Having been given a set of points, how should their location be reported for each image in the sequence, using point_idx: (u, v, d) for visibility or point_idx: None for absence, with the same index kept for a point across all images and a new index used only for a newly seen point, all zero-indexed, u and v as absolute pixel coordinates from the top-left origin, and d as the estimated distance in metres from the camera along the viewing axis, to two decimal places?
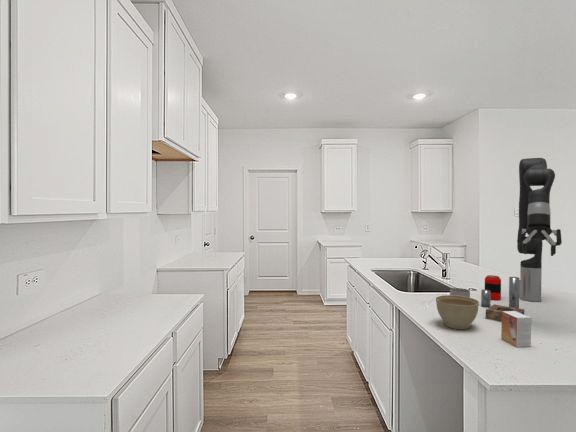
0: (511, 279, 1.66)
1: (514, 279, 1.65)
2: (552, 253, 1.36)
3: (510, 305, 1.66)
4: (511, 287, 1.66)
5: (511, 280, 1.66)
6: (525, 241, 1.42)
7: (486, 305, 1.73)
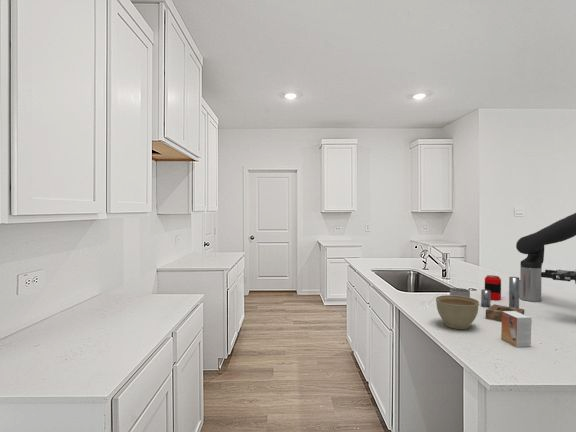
0: (511, 279, 1.66)
1: (514, 279, 1.65)
2: None
3: (510, 305, 1.66)
4: (511, 287, 1.66)
5: (511, 280, 1.66)
6: None
7: (486, 305, 1.73)
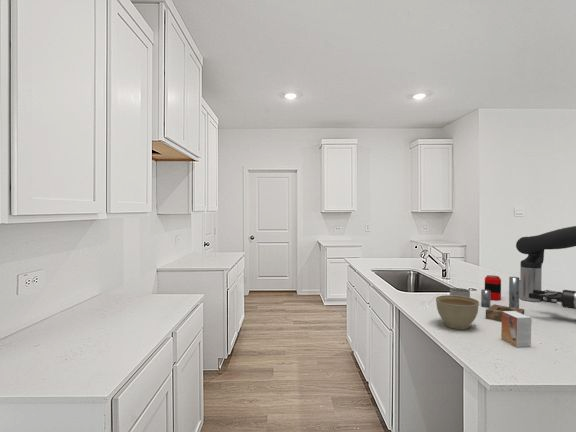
0: (511, 279, 1.66)
1: (514, 279, 1.65)
2: None
3: (510, 305, 1.66)
4: (511, 287, 1.66)
5: (511, 280, 1.66)
6: None
7: (486, 305, 1.73)
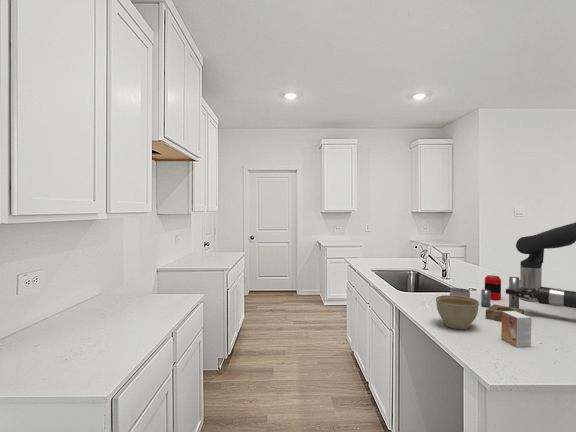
0: (511, 279, 1.66)
1: (514, 279, 1.65)
2: None
3: (510, 305, 1.66)
4: (511, 287, 1.66)
5: (511, 280, 1.66)
6: None
7: (486, 305, 1.73)
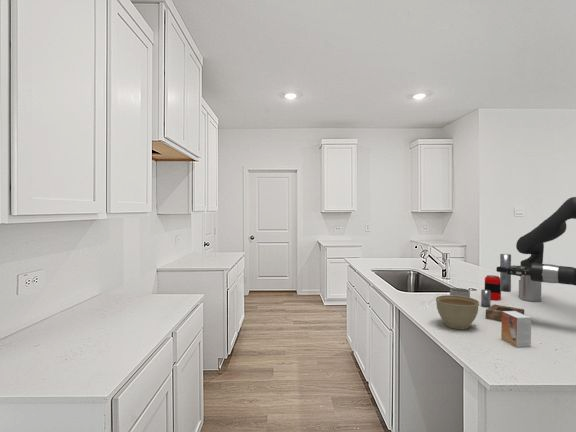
0: (502, 256, 1.55)
1: (505, 256, 1.54)
2: None
3: (501, 284, 1.55)
4: (502, 265, 1.55)
5: (502, 257, 1.55)
6: None
7: (486, 305, 1.73)
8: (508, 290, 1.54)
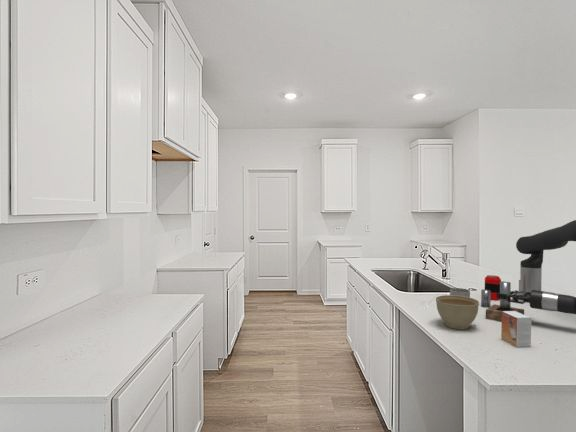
0: (502, 284, 1.55)
1: (505, 284, 1.54)
2: None
3: None
4: (502, 293, 1.55)
5: (502, 285, 1.55)
6: None
7: (486, 305, 1.73)
8: None
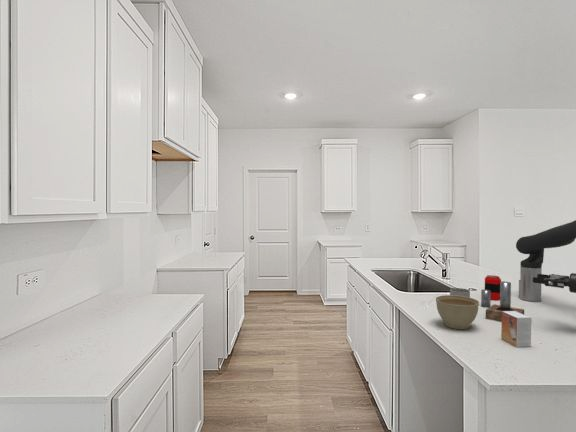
0: (502, 284, 1.55)
1: (505, 284, 1.54)
2: None
3: None
4: (502, 293, 1.55)
5: (502, 285, 1.55)
6: None
7: (486, 305, 1.73)
8: None
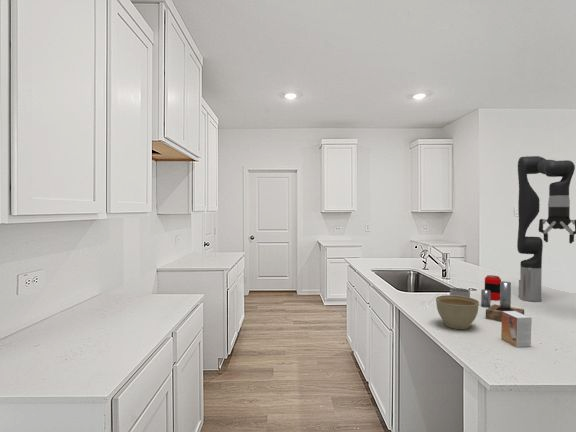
0: (502, 284, 1.55)
1: (505, 284, 1.54)
2: (570, 242, 1.53)
3: None
4: (502, 293, 1.55)
5: (502, 285, 1.55)
6: (545, 231, 1.59)
7: (486, 305, 1.73)
8: None
